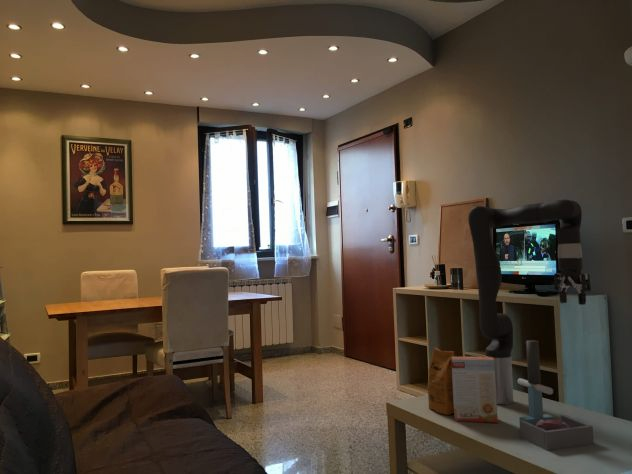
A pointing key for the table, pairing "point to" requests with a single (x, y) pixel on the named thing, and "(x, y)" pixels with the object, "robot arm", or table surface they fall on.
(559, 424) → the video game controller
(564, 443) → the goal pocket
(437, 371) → the coffee package
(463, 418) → the cracker box
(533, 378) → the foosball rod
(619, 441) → the table surface
